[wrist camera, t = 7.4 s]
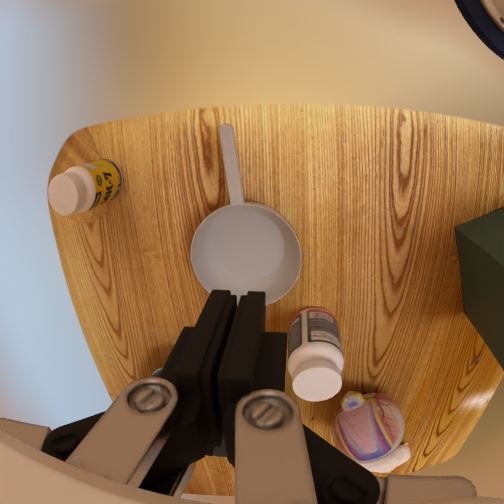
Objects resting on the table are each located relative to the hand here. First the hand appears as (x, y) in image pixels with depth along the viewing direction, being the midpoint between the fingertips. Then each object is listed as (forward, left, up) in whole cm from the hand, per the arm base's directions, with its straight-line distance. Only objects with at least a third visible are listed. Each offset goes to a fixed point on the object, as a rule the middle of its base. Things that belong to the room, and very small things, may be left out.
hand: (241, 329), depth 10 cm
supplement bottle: (-9, -17, -23) cm, 30 cm away
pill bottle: (+16, -2, -23) cm, 28 cm away
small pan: (+1, -4, -23) cm, 23 cm away
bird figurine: (+47, +2, -23) cm, 53 cm away
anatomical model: (+32, +1, -23) cm, 40 cm away
